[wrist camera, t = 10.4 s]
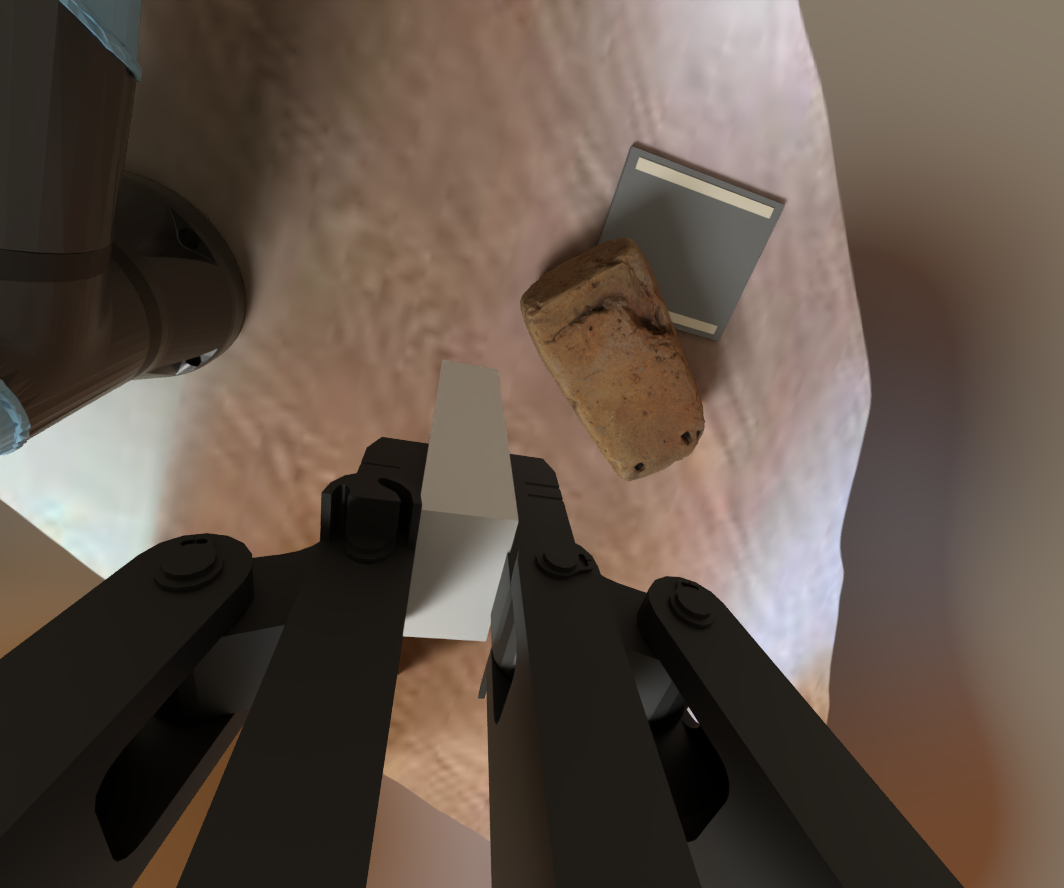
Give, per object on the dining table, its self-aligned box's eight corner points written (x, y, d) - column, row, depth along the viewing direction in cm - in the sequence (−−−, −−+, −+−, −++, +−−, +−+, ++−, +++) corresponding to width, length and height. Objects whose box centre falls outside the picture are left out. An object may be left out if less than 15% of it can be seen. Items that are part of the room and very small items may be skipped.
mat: (579, 299, 42) (580, 300, 41) (630, 146, 37) (632, 146, 36) (715, 339, 45) (718, 341, 44) (781, 204, 40) (785, 205, 39)
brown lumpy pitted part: (507, 293, 40) (604, 456, 51) (515, 319, 34) (624, 499, 44) (621, 223, 39) (698, 406, 49) (651, 236, 32) (732, 444, 42)
